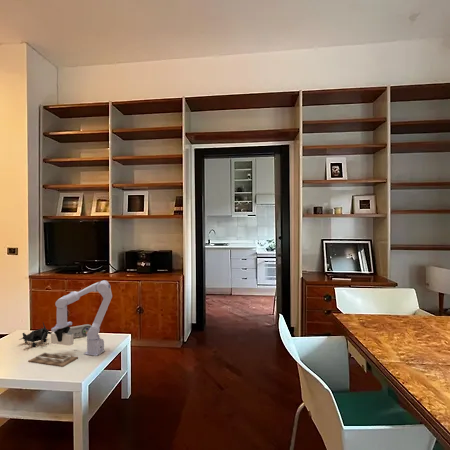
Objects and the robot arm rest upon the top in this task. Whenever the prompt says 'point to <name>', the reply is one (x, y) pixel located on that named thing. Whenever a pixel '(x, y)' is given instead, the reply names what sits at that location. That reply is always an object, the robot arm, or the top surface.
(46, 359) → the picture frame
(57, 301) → the robot arm
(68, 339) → the cream rectangular block
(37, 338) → the airplane toy
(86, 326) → the game controller
